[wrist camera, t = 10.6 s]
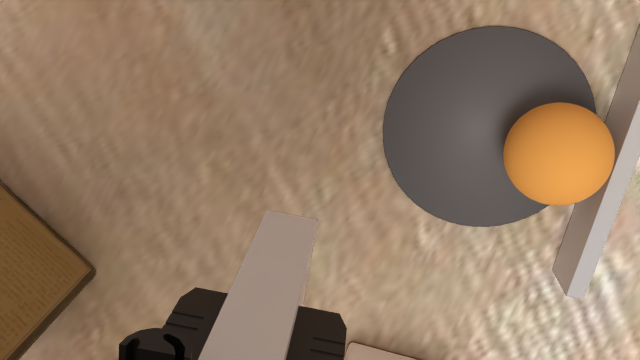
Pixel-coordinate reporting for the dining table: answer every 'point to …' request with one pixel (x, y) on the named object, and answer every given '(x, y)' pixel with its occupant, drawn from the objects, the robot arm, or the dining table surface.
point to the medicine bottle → (370, 353)
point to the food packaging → (33, 276)
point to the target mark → (473, 120)
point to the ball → (559, 154)
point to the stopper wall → (603, 187)
